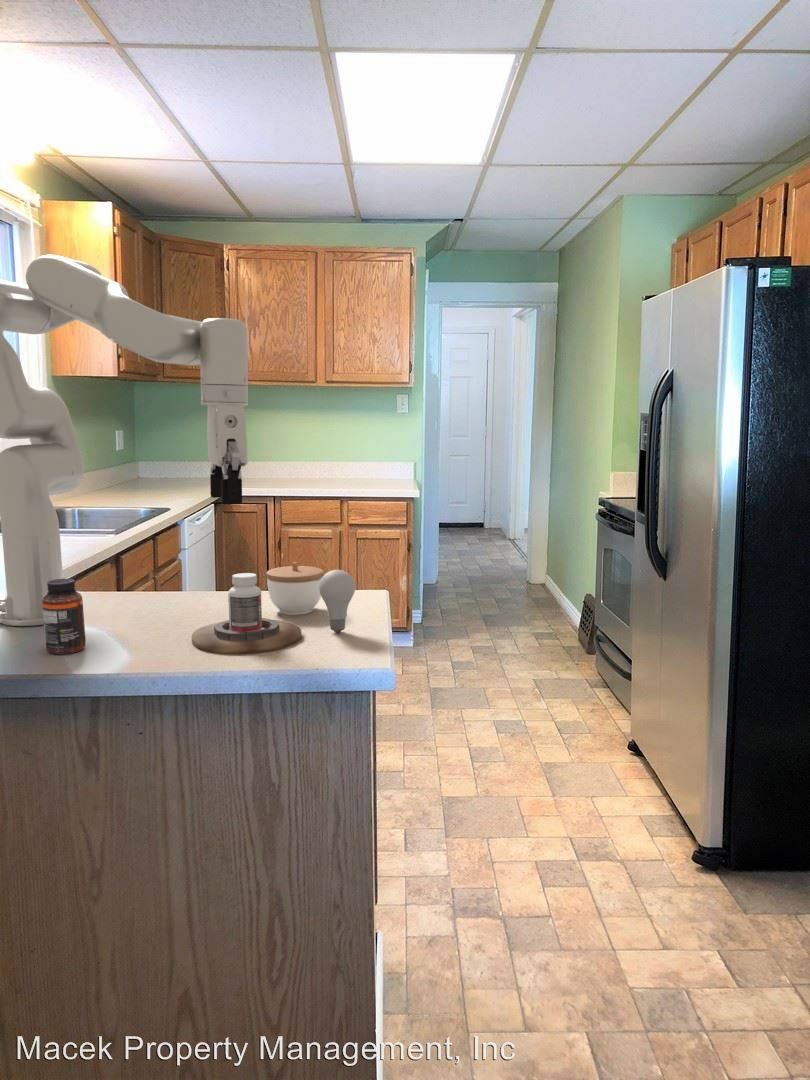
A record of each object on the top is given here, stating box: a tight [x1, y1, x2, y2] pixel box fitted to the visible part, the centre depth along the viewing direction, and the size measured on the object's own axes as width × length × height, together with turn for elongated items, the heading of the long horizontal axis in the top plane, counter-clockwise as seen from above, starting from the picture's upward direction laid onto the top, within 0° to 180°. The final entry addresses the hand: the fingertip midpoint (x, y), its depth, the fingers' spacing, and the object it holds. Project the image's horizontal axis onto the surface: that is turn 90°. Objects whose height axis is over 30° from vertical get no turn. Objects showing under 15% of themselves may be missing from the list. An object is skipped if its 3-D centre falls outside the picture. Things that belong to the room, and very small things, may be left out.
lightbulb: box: [319, 569, 356, 634], centre depth 141 cm, size 6×6×11 cm
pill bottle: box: [227, 572, 263, 632], centre depth 138 cm, size 5×5×10 cm
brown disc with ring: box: [191, 617, 302, 655], centre depth 139 cm, size 18×18×2 cm
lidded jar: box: [266, 561, 325, 616], centre depth 157 cm, size 11×11×9 cm
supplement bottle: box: [42, 578, 87, 656], centre depth 131 cm, size 6×6×11 cm
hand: (225, 500), depth 138 cm, fingers open, 9 cm apart
